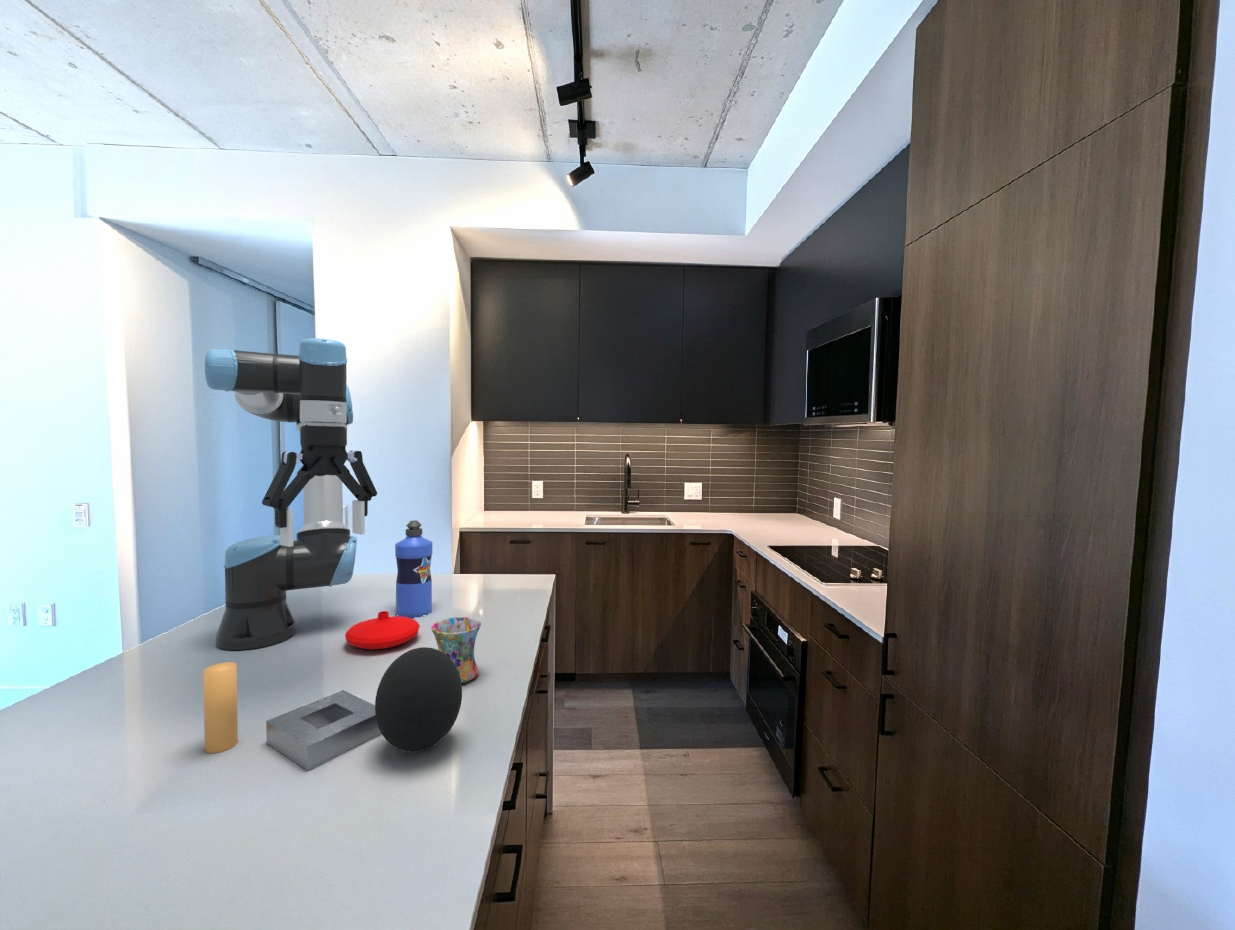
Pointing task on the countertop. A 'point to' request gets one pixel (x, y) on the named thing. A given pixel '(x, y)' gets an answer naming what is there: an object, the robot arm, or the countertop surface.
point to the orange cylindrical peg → (220, 707)
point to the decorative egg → (418, 699)
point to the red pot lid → (382, 631)
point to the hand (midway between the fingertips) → (324, 539)
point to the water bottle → (413, 573)
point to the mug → (458, 643)
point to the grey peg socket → (323, 729)
